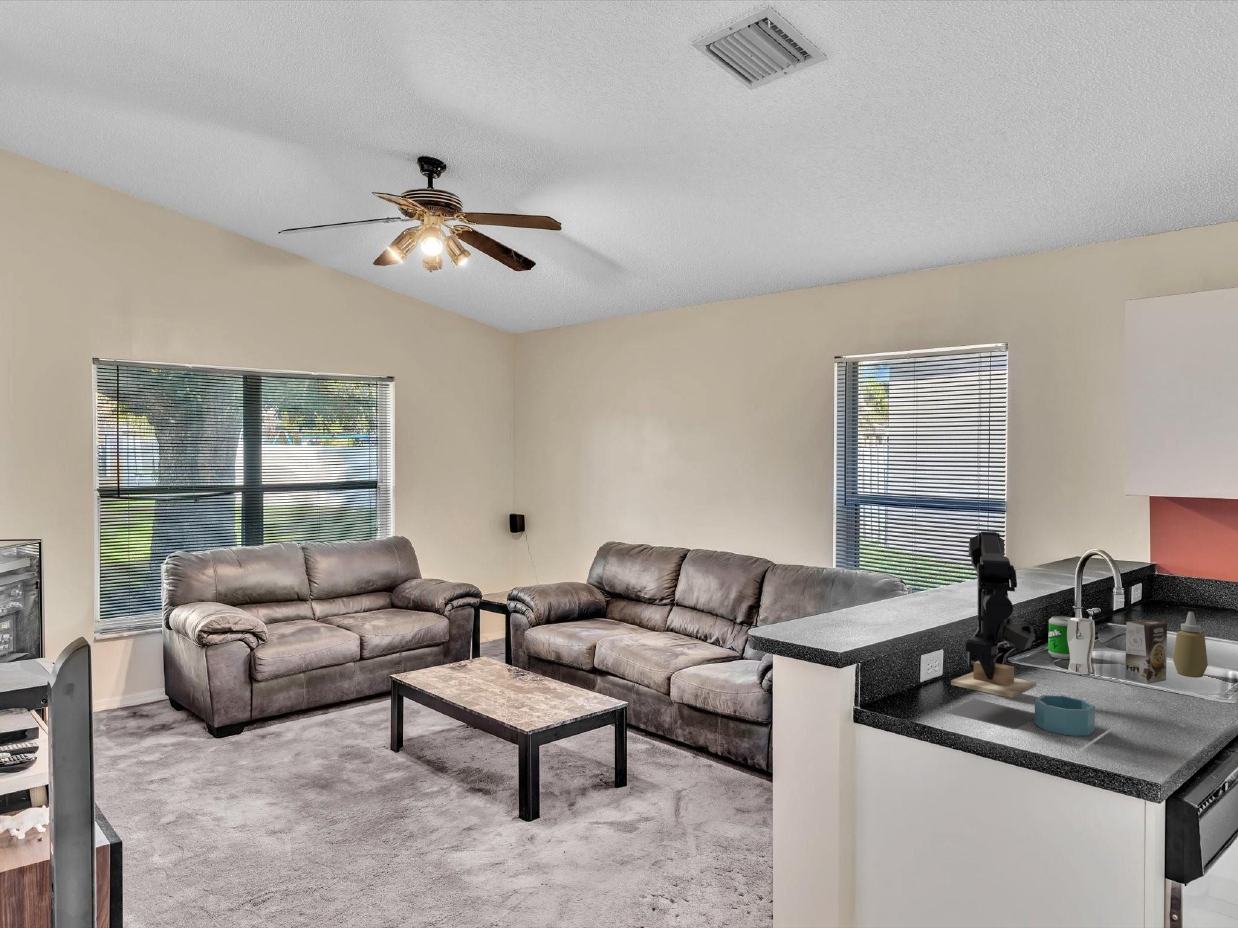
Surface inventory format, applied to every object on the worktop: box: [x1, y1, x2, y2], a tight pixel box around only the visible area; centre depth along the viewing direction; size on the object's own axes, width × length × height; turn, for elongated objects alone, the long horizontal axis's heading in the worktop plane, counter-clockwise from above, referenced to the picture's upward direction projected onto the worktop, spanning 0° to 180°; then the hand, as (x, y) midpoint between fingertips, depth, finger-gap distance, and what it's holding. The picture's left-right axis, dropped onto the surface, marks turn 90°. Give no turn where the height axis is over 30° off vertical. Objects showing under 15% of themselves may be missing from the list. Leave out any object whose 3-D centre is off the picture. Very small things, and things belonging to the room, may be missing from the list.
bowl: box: [1034, 694, 1096, 737], centre depth 183 cm, size 11×11×6 cm
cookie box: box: [1124, 619, 1168, 685], centre depth 225 cm, size 9×6×16 cm
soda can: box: [1047, 615, 1070, 660], centre depth 250 cm, size 8×8×12 cm
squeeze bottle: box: [1172, 611, 1209, 679], centre depth 230 cm, size 8×8×18 cm
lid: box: [950, 661, 1037, 699], centre depth 192 cm, size 14×14×5 cm
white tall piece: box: [1067, 616, 1096, 676], centre depth 232 cm, size 7×7×15 cm
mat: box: [945, 698, 1035, 730], centre depth 192 cm, size 16×16×1 cm
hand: (993, 677), depth 192 cm, fingers closed on lid, 3 cm apart
